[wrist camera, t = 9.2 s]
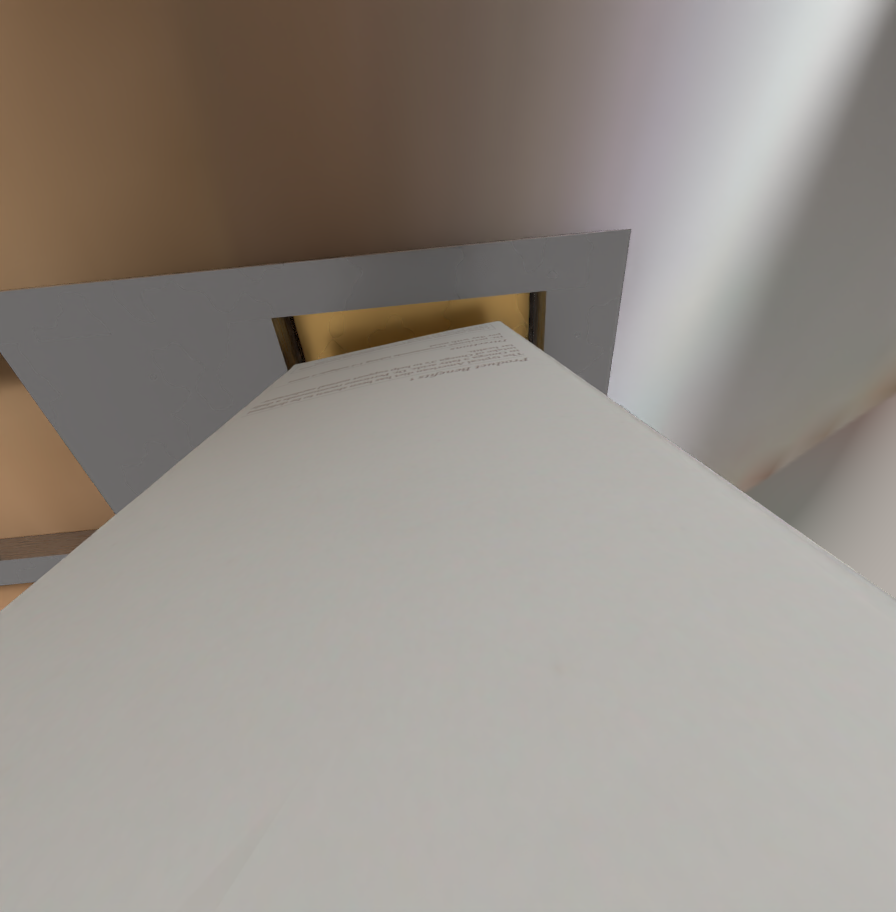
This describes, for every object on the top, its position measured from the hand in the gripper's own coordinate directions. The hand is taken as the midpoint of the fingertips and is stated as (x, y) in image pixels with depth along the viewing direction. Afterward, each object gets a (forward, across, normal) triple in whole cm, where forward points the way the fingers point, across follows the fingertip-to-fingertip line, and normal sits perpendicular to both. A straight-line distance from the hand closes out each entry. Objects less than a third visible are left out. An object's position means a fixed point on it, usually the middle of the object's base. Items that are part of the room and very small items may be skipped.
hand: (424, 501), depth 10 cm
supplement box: (+4, 0, 0) cm, 4 cm away
